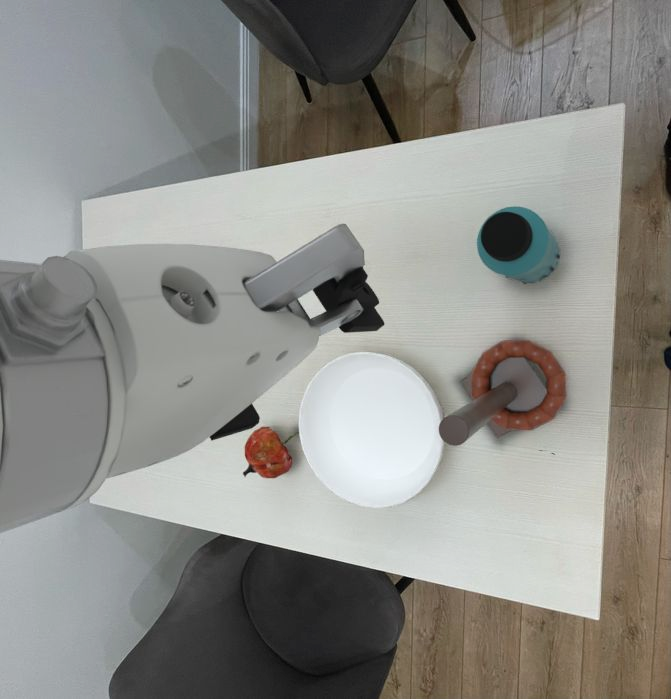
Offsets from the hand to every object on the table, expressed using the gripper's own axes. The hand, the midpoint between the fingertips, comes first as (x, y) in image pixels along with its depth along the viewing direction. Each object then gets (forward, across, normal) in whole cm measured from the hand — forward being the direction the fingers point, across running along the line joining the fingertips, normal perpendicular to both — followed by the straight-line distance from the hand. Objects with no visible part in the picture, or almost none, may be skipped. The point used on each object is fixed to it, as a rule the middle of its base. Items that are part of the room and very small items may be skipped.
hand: (301, 356), depth 30 cm
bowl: (+41, +16, +3) cm, 44 cm away
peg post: (+40, 0, +8) cm, 41 cm away
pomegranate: (+41, +32, -3) cm, 52 cm away
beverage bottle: (+41, -11, -3) cm, 42 cm away
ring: (+38, -2, +8) cm, 39 cm away
